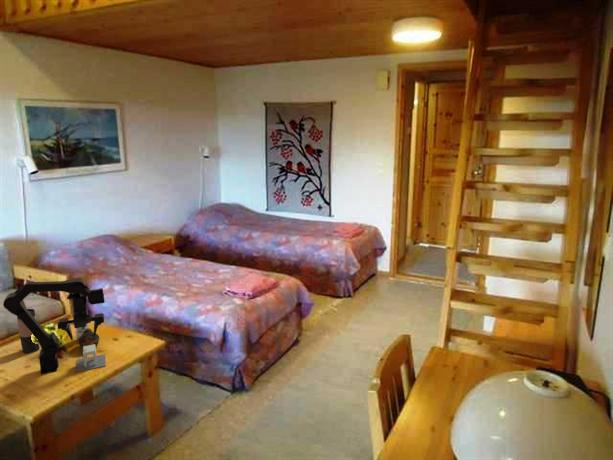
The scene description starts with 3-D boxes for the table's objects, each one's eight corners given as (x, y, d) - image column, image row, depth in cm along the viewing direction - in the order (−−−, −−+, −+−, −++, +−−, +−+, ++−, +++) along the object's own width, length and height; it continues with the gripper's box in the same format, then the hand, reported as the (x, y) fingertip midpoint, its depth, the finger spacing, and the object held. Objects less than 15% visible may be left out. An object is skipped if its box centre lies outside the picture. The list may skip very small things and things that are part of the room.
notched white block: (85, 360, 207) (83, 346, 206) (96, 358, 209) (95, 344, 208) (84, 367, 201) (82, 353, 199) (96, 364, 203) (95, 350, 202)
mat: (75, 372, 197) (75, 371, 197) (77, 360, 208) (77, 359, 208) (105, 366, 202) (105, 365, 202) (105, 354, 213) (105, 354, 213)
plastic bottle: (77, 337, 232) (73, 301, 227) (91, 335, 233) (87, 299, 229) (75, 343, 225) (70, 305, 221) (89, 341, 227) (85, 304, 223)
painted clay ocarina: (97, 339, 230) (96, 324, 228) (102, 352, 218) (101, 337, 216) (76, 342, 225) (75, 328, 223) (80, 357, 212) (79, 341, 210)
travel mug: (38, 352, 216) (33, 313, 212) (20, 355, 214) (14, 315, 209) (41, 345, 223) (36, 307, 219) (24, 348, 221) (18, 310, 216)
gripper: (54, 315, 190) (58, 349, 193) (102, 309, 197) (105, 342, 200) (57, 306, 200) (61, 339, 203) (102, 301, 207) (105, 332, 210)
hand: (83, 338), depth 204 cm, fingers open, 9 cm apart
